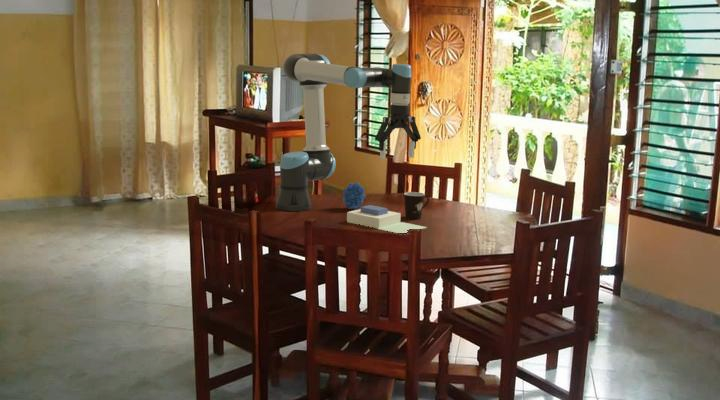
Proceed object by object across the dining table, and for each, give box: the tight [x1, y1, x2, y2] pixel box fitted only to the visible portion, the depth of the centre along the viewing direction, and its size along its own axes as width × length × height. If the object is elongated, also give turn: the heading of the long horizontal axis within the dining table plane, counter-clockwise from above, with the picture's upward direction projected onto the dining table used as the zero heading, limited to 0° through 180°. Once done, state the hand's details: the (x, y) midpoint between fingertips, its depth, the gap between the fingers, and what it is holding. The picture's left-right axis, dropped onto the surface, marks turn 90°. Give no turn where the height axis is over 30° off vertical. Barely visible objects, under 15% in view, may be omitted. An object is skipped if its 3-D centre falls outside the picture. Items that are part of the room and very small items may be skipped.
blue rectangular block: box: [360, 204, 389, 216], centre depth 305 cm, size 9×6×2 cm, turn 51°
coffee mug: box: [403, 191, 430, 221], centre depth 316 cm, size 12×9×10 cm
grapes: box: [342, 182, 366, 211], centre depth 329 cm, size 12×7×12 cm, turn 53°
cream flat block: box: [346, 208, 402, 230], centre depth 306 cm, size 16×14×4 cm
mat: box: [377, 221, 428, 234], centre depth 298 cm, size 12×16×1 cm
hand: (397, 158), depth 305 cm, fingers open, 13 cm apart
